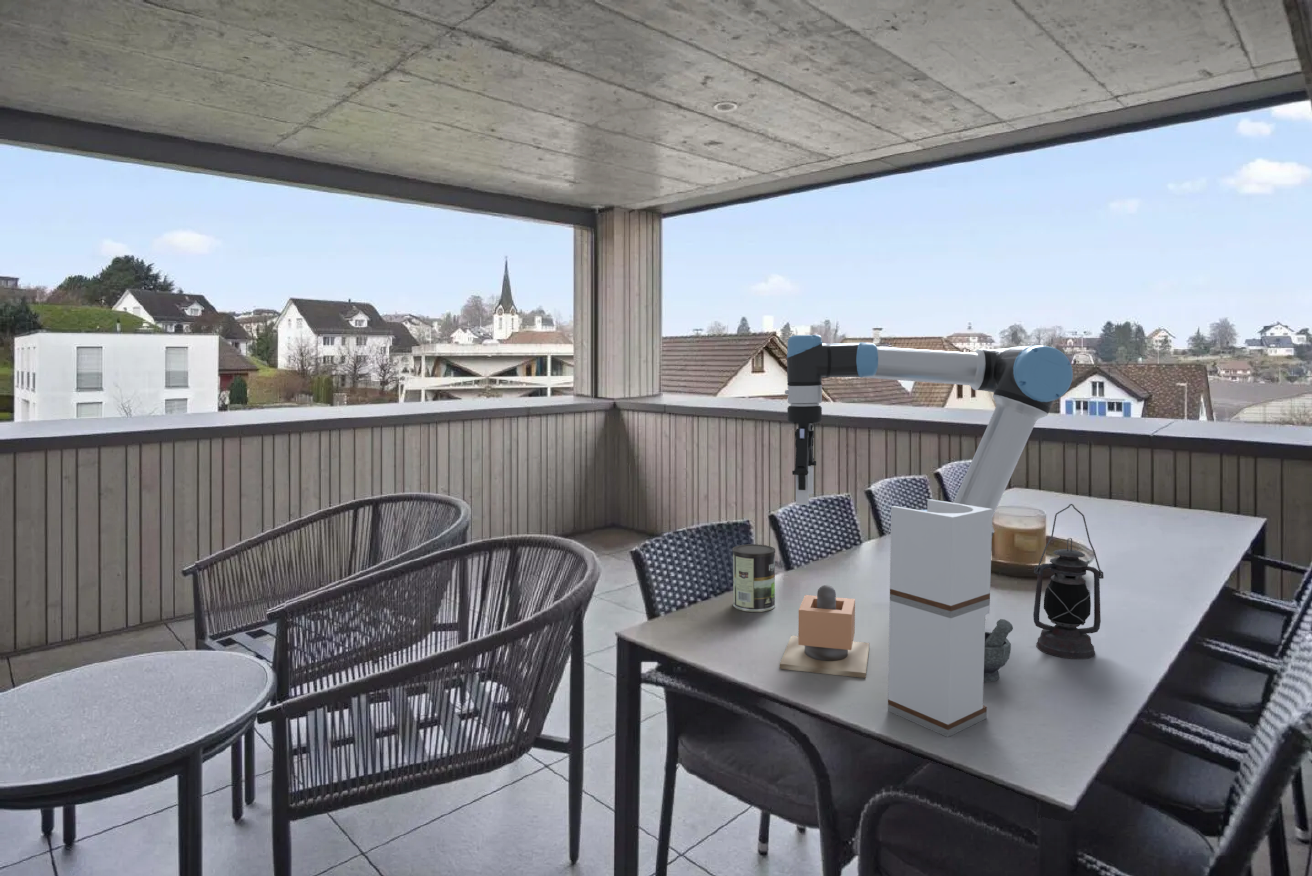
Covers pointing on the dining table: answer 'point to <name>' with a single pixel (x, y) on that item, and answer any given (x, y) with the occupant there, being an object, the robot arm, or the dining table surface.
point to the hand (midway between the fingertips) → (804, 499)
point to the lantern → (1067, 603)
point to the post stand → (826, 650)
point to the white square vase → (939, 614)
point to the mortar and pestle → (996, 649)
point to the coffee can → (754, 577)
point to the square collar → (827, 624)
